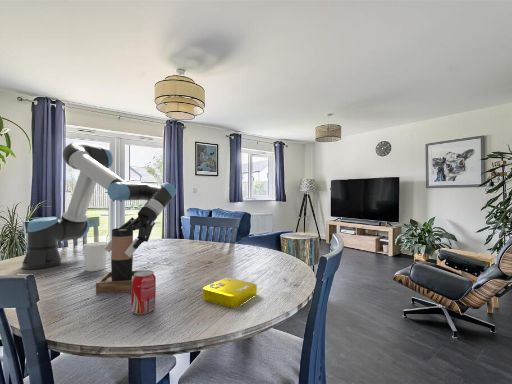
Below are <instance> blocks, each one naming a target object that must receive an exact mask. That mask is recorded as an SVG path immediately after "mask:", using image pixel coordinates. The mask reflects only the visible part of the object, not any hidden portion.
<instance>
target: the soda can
mask: <svg viewBox="0 0 512 384" xmlns="http://www.w3.org/2000/svg"><path fill="white" fill-rule="evenodd" d="M142 270H143V271H138V272H135V273H134V277H133V278H132V285H131V292H130V294H131V295H130V297H131V298H130V307H131V308H130V309H131V312H132V313H133V314H135V315H147V314H149V313H151V312H152V311H154V309H155V307H156V295H157V294H156V293H157V292H156V291H157V287H156V286H157V282H156V281H157V280H156V279H157V278H156V275H155V274H154V273H155V272H154V271H153V270H148V269H147V270H144V269H142Z"/></svg>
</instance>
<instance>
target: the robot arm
mask: <svg viewBox="0 0 512 384" xmlns="http://www.w3.org/2000/svg"><path fill="white" fill-rule="evenodd" d="M62 158H63V161H64V163H66V165H68V167H70V168H71V169H73V170H78V171H79V174H78V177H77V180H76V183H75V187H74V189H73V193H72V195H71V198H70V202H69V204H68V206H67V210H66V211H64V212H63V213H62V214H61V217H60V218H58V217H57V216H47V217H46V216H45V217H40V218H34V219H32V220H29V221H28V224H27V229H26V231H27V251H26V254H25V256H24V259H23V261H22V263H21V264H22V266H21V268H22V269H25V270H39V269H47V268H52V267H57V266H59V265H61V264H62V257H61V254H60V252H59V251H60V250H59V249H58V242H65V241H71V240H73V241H74V240H78V239H82V238H83V237H85V236H86V235H87V234H88V233H89V230H90V227H91V226H90V221H89V219H88V216H87V215H86V214H87V211H88V209H89V206H90V203H91V200H92V197H93V193H94V191H95V188H96V185H97V184H98V185H99V186H100V187H102V188H103V189H105V190H106V191H107V195H108V197H109V198H110V199H111V200H112V201H117V202H118V201H119V202H122V201H123V202H124V201H146V202H145V204H144V205H143V206H142V207H141V209H139V210H138V212H137V217H136V218H134V217H131V218H130V219H129V220H128V221H126V222H125V223H124V224H122V225H121V226H120V227H118V229H124V228H133V232H134V231H136V230H137V231H138V234H137V238H134V239H133V243H132V244H131V245H130V246H129V247H128V249H127V250H126V251H125V252H124V253H125V254H126V255H127V256H129V257H131V255H132V254H133V255H134V253H135V252H136V251H137V249H138V248H139V247H140V246H141V244H143V243H144V242H146V243H147V242H148V241H150V236H151V235H152V230H153V228H154V227H155V225H156V222H155V221H156V220H157V219H158V217H159V215H161V213H162V212H163V211H164V209H165V208H166V207H167V206H168V204H169V203H170V202H171V201H172V200H173V199H174V197H175V195H176V194H177V189H176V187H175V186H174V185H173V184H171V183H169V182H163V183H162V184H160V186H159V185H154V184H150V183H146V182H137V183H135V182H127V181H126V180H124V179H123V178H121V177H120V176H118V175H117V174H115V173H114V172H113V171H112V170H110V168H111V167H112V165H113V155H112V152H111V151H110V149H109V148H107V147H106V146H101V145H96V144H91V143H85V142H79V141H77V142H71V143H69V144H67V145H66V146H65V147H64V149H63V151H62ZM111 247H112V238H111V239H110V241H109V242H107V245H106V246H105V247H104V249H105V250H107V253H111Z"/></svg>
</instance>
